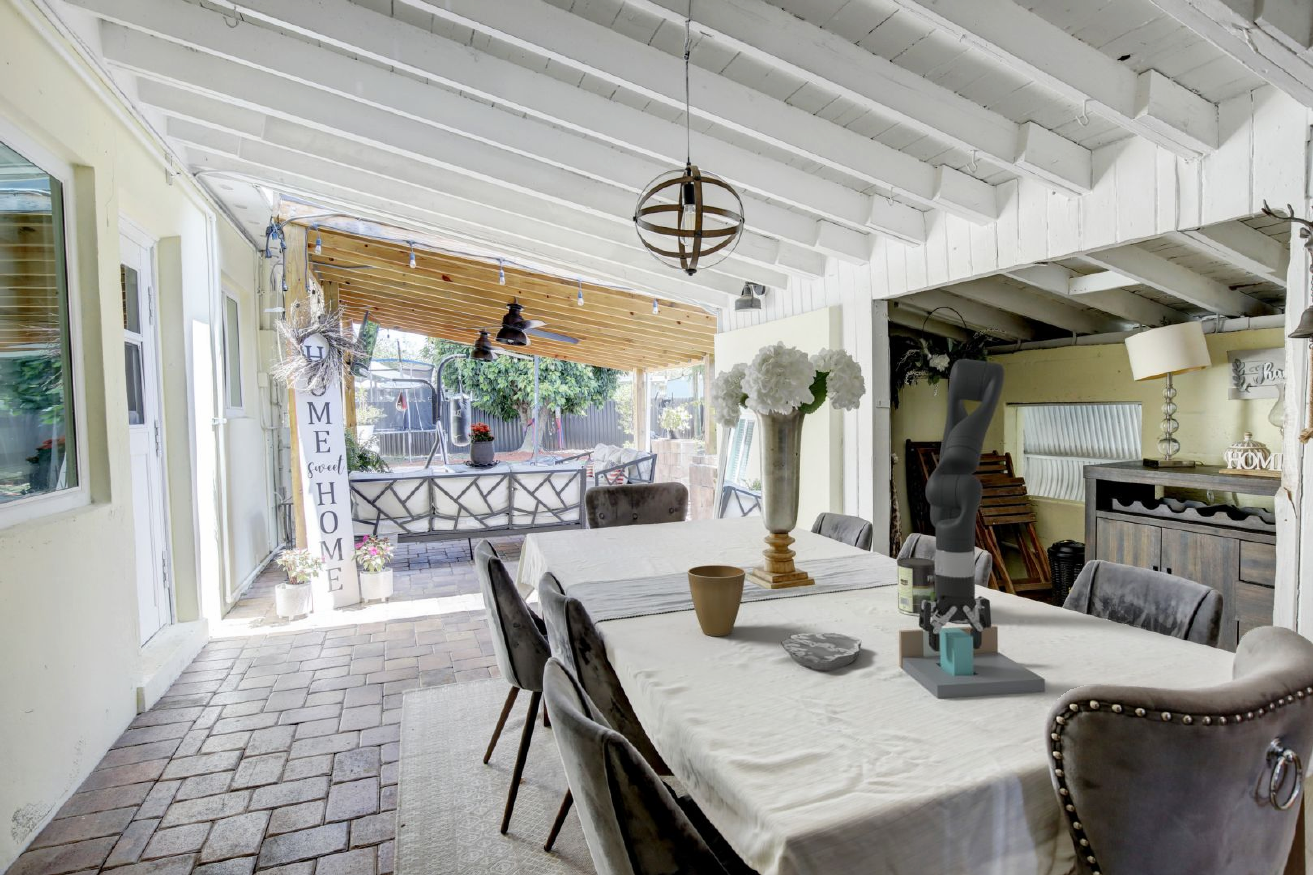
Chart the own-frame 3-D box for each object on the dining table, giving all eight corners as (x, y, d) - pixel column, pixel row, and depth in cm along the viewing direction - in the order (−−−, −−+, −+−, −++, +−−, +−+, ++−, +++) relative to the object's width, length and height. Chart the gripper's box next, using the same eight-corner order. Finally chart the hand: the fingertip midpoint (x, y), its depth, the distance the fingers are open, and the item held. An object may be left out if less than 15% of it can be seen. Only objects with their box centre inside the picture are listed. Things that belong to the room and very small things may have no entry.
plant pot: (744, 642, 163) (743, 578, 163) (684, 640, 166) (683, 576, 166) (748, 624, 178) (747, 564, 177) (693, 621, 181) (692, 563, 180)
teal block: (940, 676, 140) (940, 629, 140) (959, 675, 140) (958, 628, 140) (954, 686, 134) (954, 637, 134) (973, 685, 135) (973, 636, 134)
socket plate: (899, 666, 146) (898, 630, 145) (995, 661, 147) (994, 625, 147) (937, 698, 129) (937, 657, 129) (1044, 691, 131) (1044, 651, 131)
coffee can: (941, 609, 187) (940, 559, 186) (931, 618, 179) (930, 566, 178) (903, 603, 193) (903, 555, 193) (892, 612, 185) (891, 562, 184)
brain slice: (805, 639, 166) (805, 627, 166) (872, 653, 155) (872, 640, 155) (765, 662, 151) (765, 649, 151) (836, 680, 140) (836, 666, 140)
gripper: (977, 565, 141) (977, 641, 142) (912, 568, 140) (913, 644, 140) (998, 574, 134) (998, 653, 134) (930, 577, 132) (930, 657, 133)
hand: (955, 648), depth 137 cm, fingers open, 8 cm apart
